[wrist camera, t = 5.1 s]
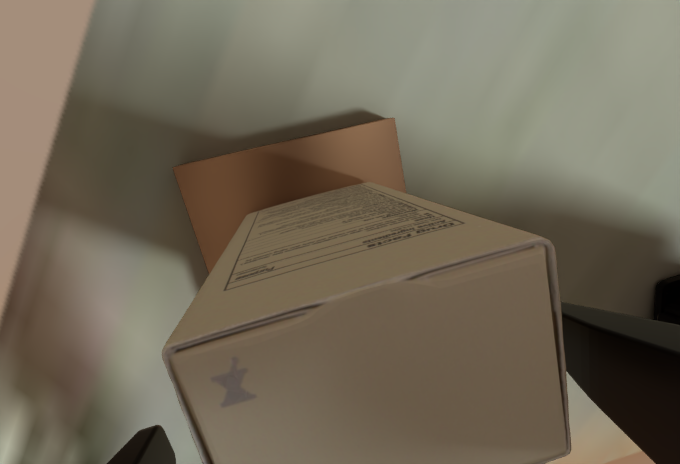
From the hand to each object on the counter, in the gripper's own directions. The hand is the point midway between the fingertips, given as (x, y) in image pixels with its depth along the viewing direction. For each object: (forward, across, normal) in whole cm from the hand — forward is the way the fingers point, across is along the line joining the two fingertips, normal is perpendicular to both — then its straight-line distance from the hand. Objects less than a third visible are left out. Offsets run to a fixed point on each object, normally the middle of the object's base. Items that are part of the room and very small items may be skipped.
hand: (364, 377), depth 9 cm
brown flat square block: (+12, 0, 0) cm, 12 cm away
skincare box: (+10, -1, 0) cm, 10 cm away
